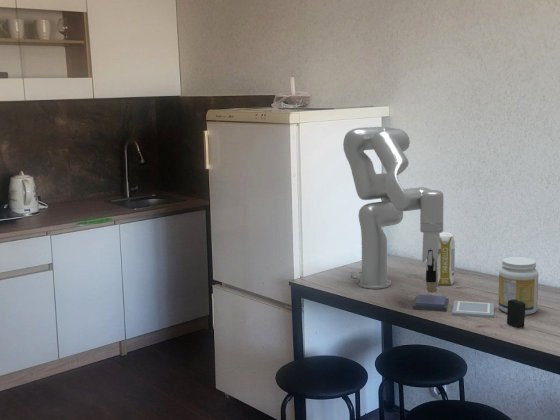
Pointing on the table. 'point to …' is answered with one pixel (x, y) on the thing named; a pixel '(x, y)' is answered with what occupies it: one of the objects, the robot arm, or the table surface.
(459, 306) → the marked board
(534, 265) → the supplement tub
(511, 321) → the ink cartridge
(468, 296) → the table surface
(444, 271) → the juice carton
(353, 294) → the table surface
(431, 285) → the handle
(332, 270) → the table surface
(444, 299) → the ink pad
